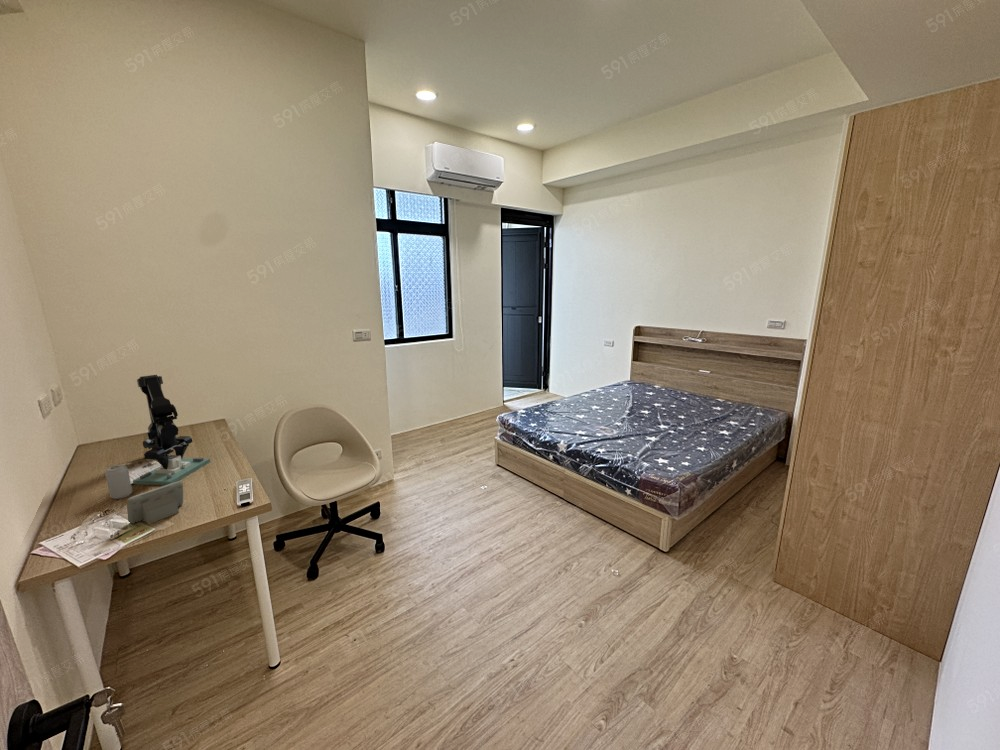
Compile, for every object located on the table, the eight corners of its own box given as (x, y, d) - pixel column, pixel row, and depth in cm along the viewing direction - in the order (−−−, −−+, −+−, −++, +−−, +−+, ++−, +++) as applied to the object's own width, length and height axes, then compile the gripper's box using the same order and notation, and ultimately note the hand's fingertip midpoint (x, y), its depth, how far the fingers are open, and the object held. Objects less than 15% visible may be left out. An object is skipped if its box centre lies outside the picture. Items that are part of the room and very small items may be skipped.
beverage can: (129, 490, 162) (123, 462, 159) (135, 494, 158) (129, 466, 156) (108, 497, 156) (101, 468, 154) (114, 501, 153) (107, 472, 150)
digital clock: (185, 502, 153) (180, 476, 151) (190, 511, 147) (185, 484, 145) (127, 520, 142) (121, 492, 139) (130, 530, 136) (124, 502, 133)
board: (177, 461, 188) (175, 454, 187) (210, 461, 187) (209, 455, 186) (133, 484, 166) (131, 476, 166) (171, 485, 166) (169, 477, 165)
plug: (173, 470, 179) (170, 454, 177) (185, 470, 179) (182, 454, 177) (164, 474, 175) (161, 458, 173) (177, 474, 174) (174, 459, 173)
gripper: (166, 423, 182) (172, 456, 185) (127, 439, 164) (135, 475, 167) (190, 424, 181) (196, 456, 185) (154, 440, 163) (161, 475, 167)
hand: (172, 465), depth 176 cm, fingers open, 7 cm apart
